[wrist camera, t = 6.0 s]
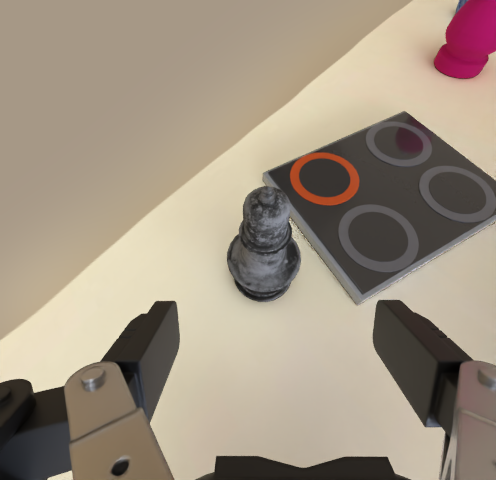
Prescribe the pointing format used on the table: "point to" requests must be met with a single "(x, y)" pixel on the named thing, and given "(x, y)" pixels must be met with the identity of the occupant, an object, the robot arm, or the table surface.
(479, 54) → the pepper mill
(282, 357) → the table surface
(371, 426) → the table surface
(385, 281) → the hob
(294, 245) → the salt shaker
